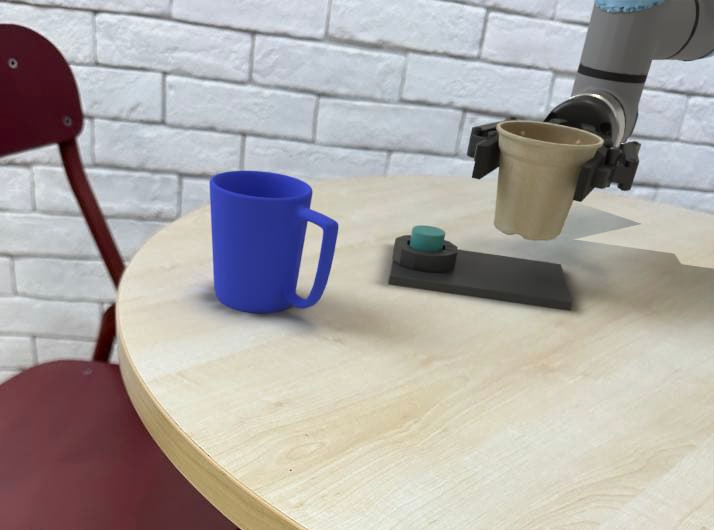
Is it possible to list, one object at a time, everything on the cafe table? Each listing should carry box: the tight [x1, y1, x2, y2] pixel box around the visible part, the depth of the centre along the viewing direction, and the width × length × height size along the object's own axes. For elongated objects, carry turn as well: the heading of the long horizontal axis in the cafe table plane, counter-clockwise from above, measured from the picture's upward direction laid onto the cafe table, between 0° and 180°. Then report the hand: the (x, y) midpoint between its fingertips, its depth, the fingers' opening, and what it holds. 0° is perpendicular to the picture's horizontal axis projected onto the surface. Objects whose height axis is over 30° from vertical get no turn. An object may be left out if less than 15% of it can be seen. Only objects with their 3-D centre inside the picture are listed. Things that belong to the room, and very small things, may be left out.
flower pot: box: [493, 119, 604, 242], centre depth 77 cm, size 9×9×9 cm
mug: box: [208, 170, 339, 314], centre depth 69 cm, size 8×12×10 cm
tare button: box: [409, 224, 446, 252], centre depth 82 cm, size 3×3×2 cm
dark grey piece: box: [387, 234, 573, 311], centre depth 82 cm, size 17×11×3 cm, turn 82°
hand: (529, 173), depth 73 cm, fingers closed on flower pot, 8 cm apart
